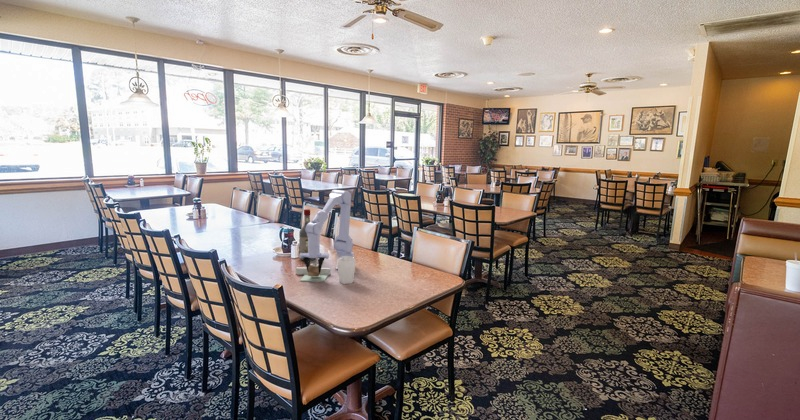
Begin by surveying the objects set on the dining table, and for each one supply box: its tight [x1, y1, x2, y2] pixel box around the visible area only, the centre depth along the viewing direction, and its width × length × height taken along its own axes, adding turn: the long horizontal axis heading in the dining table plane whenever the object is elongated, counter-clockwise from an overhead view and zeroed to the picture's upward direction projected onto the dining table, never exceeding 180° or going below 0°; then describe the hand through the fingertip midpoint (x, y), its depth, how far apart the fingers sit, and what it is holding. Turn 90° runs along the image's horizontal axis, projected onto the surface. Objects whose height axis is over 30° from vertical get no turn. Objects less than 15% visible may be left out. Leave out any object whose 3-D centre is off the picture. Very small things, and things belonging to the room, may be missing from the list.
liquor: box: [298, 208, 317, 261], centre depth 226 cm, size 9×9×30 cm
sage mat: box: [299, 275, 329, 283], centre depth 193 cm, size 12×9×1 cm
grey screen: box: [295, 266, 331, 276], centre depth 199 cm, size 18×1×4 cm, turn 90°
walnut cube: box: [308, 263, 320, 276], centre depth 193 cm, size 5×5×5 cm
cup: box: [336, 256, 356, 285], centre depth 189 cm, size 9×9×12 cm
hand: (314, 271), depth 193 cm, fingers closed on walnut cube, 5 cm apart
